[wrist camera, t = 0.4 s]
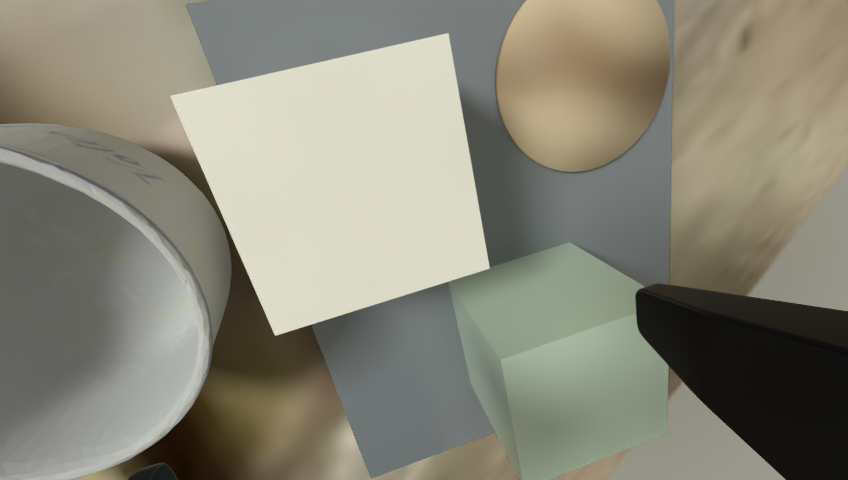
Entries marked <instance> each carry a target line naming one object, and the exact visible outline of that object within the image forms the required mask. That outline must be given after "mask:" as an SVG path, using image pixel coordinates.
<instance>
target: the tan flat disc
mask: <svg viewBox="0 0 848 480" xmlns="http://www.w3.org/2000/svg"><path fill="white" fill-rule="evenodd" d="M670 56H671V55H670V39H669V32H668V28H667V24H666V20H665V17H664V15H663V12H662V10H661V7H660V5H659V4H658V2H657V0H525V1H524V2H523V4H522V5H521V6H520V8H519V9H518V11H517V12H516V13H515V15H514V16H513V18H512V20H511V22H510V24H509V26H508V28H507V30H506V32H505V35H504V37H503V40H502V42H501V46H500V49H499V53H498V57H497V63H496V70H495V93H496V102H497V106H498V111H499V114H500V117H501V120H502V123H503V125H504V127H505V129H506V131H507V133H508V135H509V137H510V138H511V140H512V141H513V143H514V144H515V145H516V146H517V147H518V148H519V149H520V151H521V152H523V153H524V154H525V155H526V156H527V157H529V158H530V159H532V160H533V161H535V162H537V163H538V164H541V165H543V166H546V167H548V168H551V169H555V170H560V171H568V172H577V171H585V170H590V169H594V168H597V167H600V166H602V165H605V164H607V163H608V162H610V161H612V160H614V159H616V158H617V157H619V156H620V155H621V154H623V153H624V152H625V151H626V150H628V149H629V148H630V147H631V146H632V145H633V144H634V143H635V142H636V141H637V140H638V139H639V138H640V137H641V135H642V134H643V133H644V131H645V130H646V129H647V127H648V126H649V124H650V123H651V121H652V119H653V118H654V116H655V114H656V112H657V110H658V108H659V106H660V103H661V100H662V98H663V95H664V92H665V88H666V85H667V81H668V75H669V69H670Z"/></svg>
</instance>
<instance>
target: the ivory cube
mask: <svg viewBox="0 0 848 480" xmlns="http://www.w3.org/2000/svg"><path fill="white" fill-rule="evenodd" d="M170 97H171V99H172V102H173V104H174V106H175V109H176V111H177V113H178V115H179V118H180V120H181V122H182V125H183V127H184V129H185V131H186V134H187V136H188V138H189V141H190V143H191V145H192V147H193V150H194V152H195V154H196V157H197V159H198V161H199V163H200V166H201V168H202V170H203V172H204V175H205V177H206V179H207V182H208V184H209V186H210V188H211V191H212V193H213V195H214V198H215V200H216V202H217V204H218V207H219V209H220V211H221V214H222V216H223V218H224V220H225V223H226V225H227V227H228V230H229V232H230V234H231V236H232V239H233V241H234V243H235V246H236V248H237V250H238V252H239V255H240V257H241V259H242V262H243V264H244V266H245V268H246V271H247V273H248V275H249V277H250V280H251V282H252V284H253V287H254V289H255V291H256V293H257V296H258V298H259V300H260V303H261V305H262V307H263V309H264V312H265V314H266V316H267V319H268V321H269V323H270V325H271V328H272V330H273V332H274V335H275V336H276V335H279V334H283V333H286V332H289V331H292V330H295V329H299V328H302V327H305V326H308V325H311V324H315V323H318V322H321V321H324V320H327V319H331V318H334V317H337V316H340V315H343V314H346V313H350V312H353V311H356V310H359V309H362V308H366V307H369V306H372V305H375V304H378V303H382V302H385V301H388V300H391V299H394V298H398V297H401V296H404V295H407V294H410V293H413V292H417V291H420V290H423V289H426V288H429V287H433V286H436V285H439V284H442V283H445V282H449V281H452V280H455V279H458V278H461V277H465V276H468V275H471V274H474V273H477V272H480V271H484V270H487V269H490V267H489V261H488V255H487V250H486V244H485V238H484V233H483V227H482V221H481V216H480V210H479V204H478V198H477V193H476V187H475V181H474V176H473V170H472V164H471V159H470V153H469V147H468V142H467V136H466V130H465V125H464V119H463V113H462V107H461V102H460V96H459V90H458V85H457V79H456V73H455V68H454V62H453V56H452V51H451V45H450V39H449V33H446V34H442V35H437V36H433V37H429V38H424V39H420V40H415V41H411V42H406V43H402V44H398V45H393V46H389V47H384V48H380V49H376V50H371V51H367V52H362V53H358V54H353V55H349V56H345V57H340V58H336V59H331V60H327V61H323V62H318V63H314V64H309V65H305V66H301V67H296V68H292V69H287V70H283V71H278V72H274V73H270V74H265V75H261V76H256V77H252V78H248V79H243V80H239V81H234V82H230V83H225V84H221V85H217V86H212V87H208V88H203V89H199V90H195V91H190V92H186V93H181V94H177V95H172V96H170Z"/></svg>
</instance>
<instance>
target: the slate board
mask: <svg viewBox="0 0 848 480" xmlns="http://www.w3.org/2000/svg"><path fill="white" fill-rule="evenodd" d="M524 1H525V0H207V1H202V2H197V3H192V4H187V5H186V7H187V10H188V12H189V15H190V17H191V20H192V22H193V25H194V28H195V30H196V33H197V35H198V38H199V40H200V43H201V45H202V48H203V51H204V53H205V56H206V58H207V61H208V63H209V66H210V68H211V71H212V74H213V76H214V79H215V81H216V84H217V85H221V84H225V83H230V82H234V81H239V80H243V79H248V78H252V77H256V76H261V75H265V74H270V73H274V72H278V71H283V70H287V69H292V68H296V67H301V66H305V65H309V64H314V63H318V62H323V61H327V60H331V59H336V58H340V57H345V56H349V55H353V54H358V53H362V52H367V51H371V50H376V49H380V48H384V47H389V46H393V45H398V44H402V43H406V42H411V41H415V40H420V39H424V38H429V37H433V36H437V35H442V34H446V33H449V39H450V45H451V51H452V56H453V62H454V68H455V73H456V79H457V85H458V90H459V96H460V102H461V107H462V113H463V119H464V125H465V130H466V136H467V142H468V147H469V153H470V159H471V164H472V170H473V176H474V181H475V187H476V193H477V198H478V204H479V210H480V216H481V221H482V227H483V233H484V238H485V244H486V250H487V255H488V261H489V267H492V266H496V265H499V264H502V263H505V262H508V261H512V260H515V259H518V258H521V257H524V256H528V255H531V254H534V253H537V252H540V251H544V250H547V249H550V248H553V247H556V246H560V245H563V244H566V243H569V242H571V243H572V244H574V245H576V246H577V247H579V248H581V249H582V250H584V251H586V252H587V253H589V254H591V255H592V256H594V257H596V258H598V259H599V260H601V261H603V262H604V263H606V264H608V265H609V266H611V267H613V268H614V269H616V270H618V271H619V272H621V273H623V274H625V275H626V276H628V277H630V278H631V279H633V280H635V281H636V282H638V283H640V284H641V285H643V286H645V287H646V286H649V285H652V284H655V283H660V284H667V285H669V253H670V194H671V135H672V76H673V17H674V0H657V2H658V4H659V5H660V7H661V10H662V12H663V15H664V17H665V20H666V24H667V28H668V32H669V39H670V55H671V56H670V69H669V75H668V81H667V85H666V88H665V92H664V95H663V98H662V100H661V103H660V106H659V108H658V110H657V112H656V114H655V116H654V118H653V119H652V121H651V123H650V124H649V126H648V127H647V129H646V130H645V131H644V133H643V134H642V135H641V137H640V138H639V139H638V140H637V141H636V142H635V143H634V144H633V145H632V146H631V147H630V148H629V149H628V150H626V151H625V152H624V153H623V154H621V155H620V156H619V157H617V158H616V159H614V160H612V161H610V162H608V163H607V164H605V165H602V166H600V167H597V168H594V169H590V170H585V171H577V172H568V171H560V170H555V169H551V168H548V167H546V166H543V165H541V164H538V163H537V162H535V161H533V160H532V159H530V158H529V157H527V156H526V155H525V154H524V153H523V152H521V151H520V149H519V148H518V147H517V146H516V145H515V144H514V143H513V141H512V140H511V138H510V137H509V135H508V133H507V131H506V129H505V127H504V125H503V123H502V120H501V117H500V114H499V111H498V106H497V102H496V93H495V70H496V63H497V57H498V53H499V49H500V46H501V42H502V40H503V37H504V35H505V32H506V30H507V28H508V26H509V24H510V22H511V20H512V18H513V16H514V15H515V13H516V12H517V11H518V9H519V8H520V6H521V5H522V4H523V2H524ZM311 326H312V329H313V331H314V334H315V337H316V339H317V342H318V344H319V347H320V349H321V352H322V354H323V357H324V360H325V362H326V365H327V367H328V370H329V372H330V375H331V377H332V380H333V383H334V385H335V388H336V390H337V393H338V395H339V398H340V400H341V403H342V406H343V408H344V411H345V413H346V416H347V418H348V421H349V423H350V426H351V428H352V431H353V434H354V436H355V439H356V441H357V444H358V446H359V449H360V451H361V454H362V457H363V459H364V462H365V464H366V467H367V469H368V472H369V474H370V477H371V478H374V477H376V476H379V475H382V474H384V473H387V472H390V471H393V470H395V469H398V468H401V467H403V466H406V465H409V464H411V463H414V462H417V461H419V460H422V459H425V458H427V457H430V456H433V455H435V454H438V453H441V452H444V451H446V450H449V449H452V448H454V447H457V446H460V445H462V444H465V443H468V442H470V441H473V440H476V439H478V438H481V437H484V436H487V435H489V434H492V433H495V431H494V429H493V427H492V425H491V423H490V421H489V419H488V417H487V415H486V413H485V411H484V409H483V407H482V405H481V403H480V401H479V399H478V397H477V395H476V393H475V391H474V389H473V387H472V385H471V382H470V377H469V373H468V368H467V364H466V359H465V355H464V350H463V346H462V341H461V337H460V332H459V328H458V323H457V319H456V315H455V310H454V306H453V301H452V297H451V292H450V288H449V283H448V282H445V283H442V284H439V285H436V286H433V287H429V288H426V289H423V290H420V291H417V292H413V293H410V294H407V295H404V296H401V297H398V298H394V299H391V300H388V301H385V302H382V303H378V304H375V305H372V306H369V307H366V308H362V309H359V310H356V311H353V312H350V313H346V314H343V315H340V316H337V317H334V318H331V319H327V320H324V321H321V322H318V323H315V324H311Z"/></svg>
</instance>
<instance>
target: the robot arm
mask: <svg viewBox="0 0 848 480" xmlns="http://www.w3.org/2000/svg"><path fill="white" fill-rule="evenodd" d="M635 302H636V319H637V327H638V330H639V332H640V334H641V335H642V337H643V338H644V339H645V340H646V341H647V342H648V343H649V345H650V346H651V347H652V348H653V349H654V350H655V351H656V352H657V353H658V355H659V356H660V357H661V358H662V359H663V360H664V361H665V362H666V363H667V364H668V366H669V367H670V368H671V369H672V370H673V371H674V372H675V373H676V374H677V376H678V377H679V378H680V379H681V380H682V381H683V382H684V383H685V384H686V385H687V387H688V388H689V389H690V390H691V391H692V392H693V393H694V394H695V395H696V396H697V397H698V398H699V399H700V400H701V401H702V402H703V403H704V404H705V405H706V406H707V407H708V408H709V409H710V410H711V411H712V412H713V413H714V414H716V415H717V416H718V417H719V418H720V419H721V420H722V421H723V422H724V423H726V425H727V426H729V427H730V428H731V429H732V430H733V431H734V432H735V433H736V434H737V435H738V436H739V437H740V438H741V439H743V440H744V441H745V442H746V443H747V444H748V445H749V446H750V447H751V448H752V449H753V450H754V451H756V452H757V453H758V454H759V455H760V456H761V457H762V458H763V459H765V461H766V462H768V463H769V464H770V465H771V466H772V467H773V468H774V469H775V470H776V471H777V472H778V473H779V474H781V475H782V476H783V477H784V478H785V479H786V480H848V311H842V310H835V309H829V308H822V307H815V306H808V305H802V304H795V303H788V302H782V301H775V300H768V299H761V298H754V297H748V296H741V295H734V294H728V293H721V292H714V291H708V290H701V289H694V288H687V287H681V286H674V285H667V284H660V283H655V284H652V285H649V286H646V287H643V288H641V289H639V290H638V291H637V292H636V295H635ZM128 480H178V478H177V477H176V475H175V474H174V472H173V471H172V469H171V468H170V467H169V466H168V465H167V464H165V463H158V464H155V465H152V466H150V467H147V468H144V469H141V470H139V471H137V472H135V473H134V474H133V475H132V476H131V477H130V478H129V479H128Z"/></svg>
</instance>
